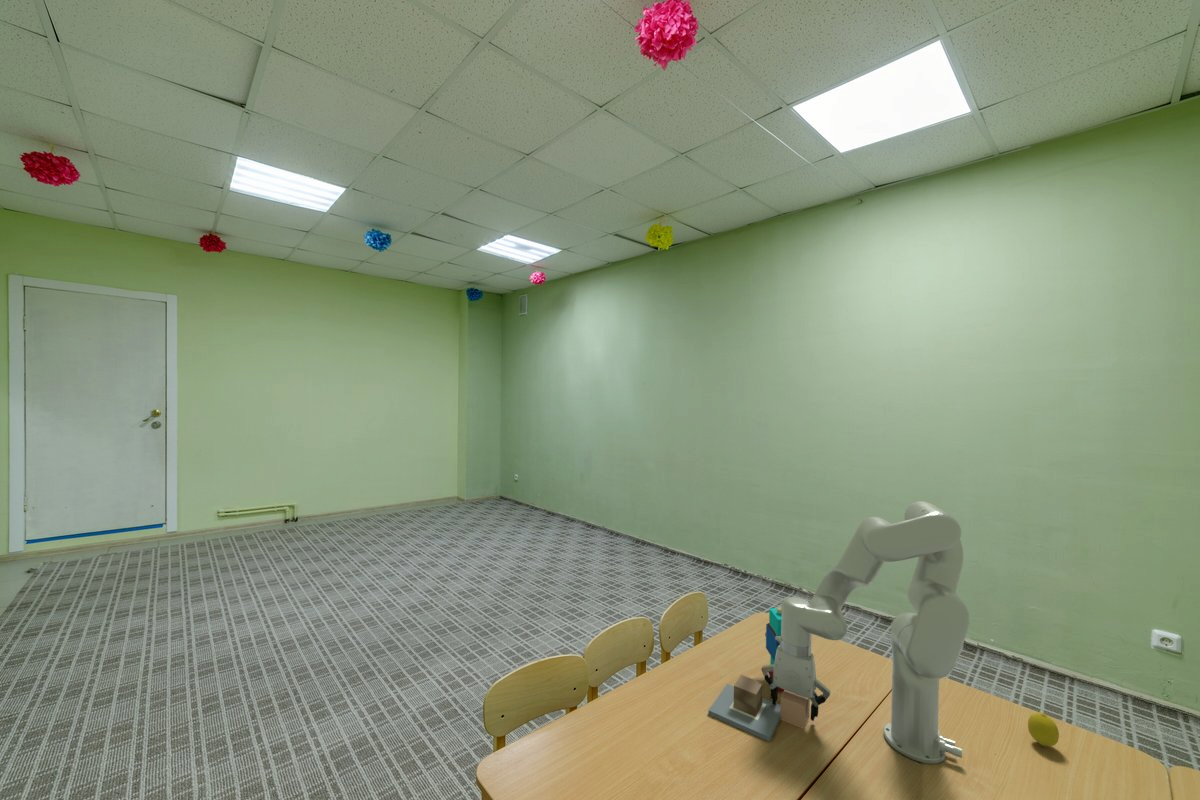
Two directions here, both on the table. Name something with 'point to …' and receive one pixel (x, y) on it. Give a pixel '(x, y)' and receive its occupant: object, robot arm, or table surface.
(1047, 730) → the lemon
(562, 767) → the table surface
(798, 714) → the terracotta block
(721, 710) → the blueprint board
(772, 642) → the toy robot
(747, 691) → the walnut block
